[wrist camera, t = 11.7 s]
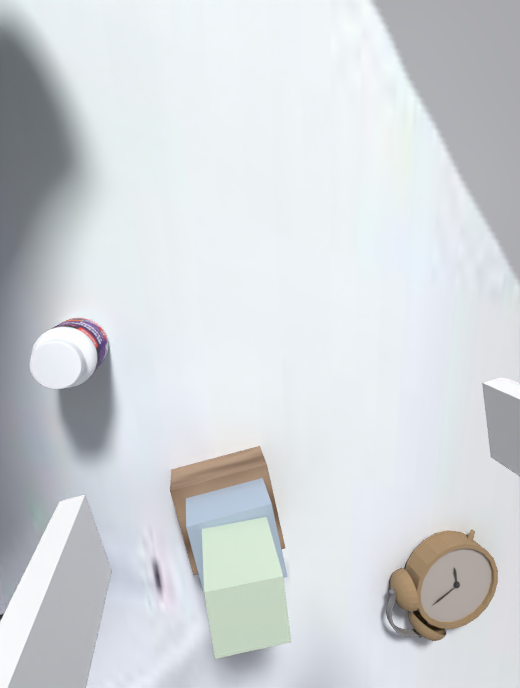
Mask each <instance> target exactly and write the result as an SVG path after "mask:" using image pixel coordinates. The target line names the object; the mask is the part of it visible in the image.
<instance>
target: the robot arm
mask: <svg viewBox="0 0 520 688" xmlns="http://www.w3.org/2000/svg"><path fill="white" fill-rule="evenodd" d="M482 385H483V393H484V402H485V411H486V419H487V428H488V437H489V445H490V454H491V458H493V459H494V460H496V461H497V462H499V463H500V464H502V465H503V466H505V467H506V468H508V469H509V470H511V471H512V472H514V473H515V474H517V475H518V476H520V383H517V382H515V381H512V380H509V379H507V378H504V377H501V378H498V379H494V380H491V381H487V382H484V383H482ZM111 572H112V570H111V567H110V565H109V562H108V559H107V556H106V553H105V550H104V547H103V544H102V541H101V538H100V535H99V533H98V530H97V527H96V524H95V521H94V518H93V515H92V512H91V509H90V506H89V503H88V501H87V498H86V495H85V494H84V495H81V496H77V497H74V498H70V499H67V500H63V501H60V502H59V504H58V506H57V508H56V510H55V512H54V514H53V516H52V518H51V520H50V522H49V524H48V526H47V528H46V530H45V532H44V534H43V536H42V538H41V540H40V542H39V544H38V546H37V548H36V550H35V552H34V554H33V556H32V558H31V560H30V562H29V564H28V566H27V568H26V570H25V572H24V574H23V577H22V579H21V581H20V583H19V585H18V587H17V589H16V591H15V593H14V595H13V597H12V599H11V601H10V603H9V605H8V607H7V609H6V611H5V613H4V614H1V615H0V688H86V685H87V680H88V676H89V671H90V667H91V662H92V658H93V653H94V649H95V644H96V640H97V635H98V631H99V626H100V622H101V617H102V613H103V608H104V604H105V599H106V595H107V590H108V586H109V581H110V577H111Z"/></svg>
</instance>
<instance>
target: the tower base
mask: <svg viewBox="0 0 520 688" xmlns="http://www.w3.org/2000/svg"><path fill="white" fill-rule="evenodd" d="M260 478H263V481H264V483H265V486H266V489H267V492H268V495H269V498H270V500H271V503H272V508H273V512H274V517H275V522H276V526H277V531H278V536H279V540H280V545H281V549H285V544H284V540H283V535H282V531H281V526H280V522H279V517H278V513H277V508H276V504H275V499H274V495H273V490H272V486H271V481H270V477H269V472H268V468H267V464H266V461H265V459H264V456H263V454H262V451H261V449H260V446H258V447H254V448H251V449H247V450H243V451H239V452H236V453H232V454H228V455H224V456H221V457H217V458H213V459H209V460H206V461H202V462H198V463H194V464H191V465H187V466H183V467H179V468H176V469H172V470H171V485H170V492H171V496H172V499H173V503H174V506H175V510H176V514H177V517H178V521H179V524H180V528H181V532H182V535H183V539H184V542H185V546H186V550H187V553H188V557H189V560H190V564H191V568H192V571H193V575H196V574H198V570H197V566H196V562H195V559H194V555H193V551H192V547H191V544H190V540H189V536H188V532H187V528H186V498H189V497H193V496H197V495H201V494H204V493H208V492H212V491H215V490H219V489H223V488H227V487H230V486H234V485H238V484H242V483H245V482H249V481H253V480H257V479H260Z"/></svg>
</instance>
